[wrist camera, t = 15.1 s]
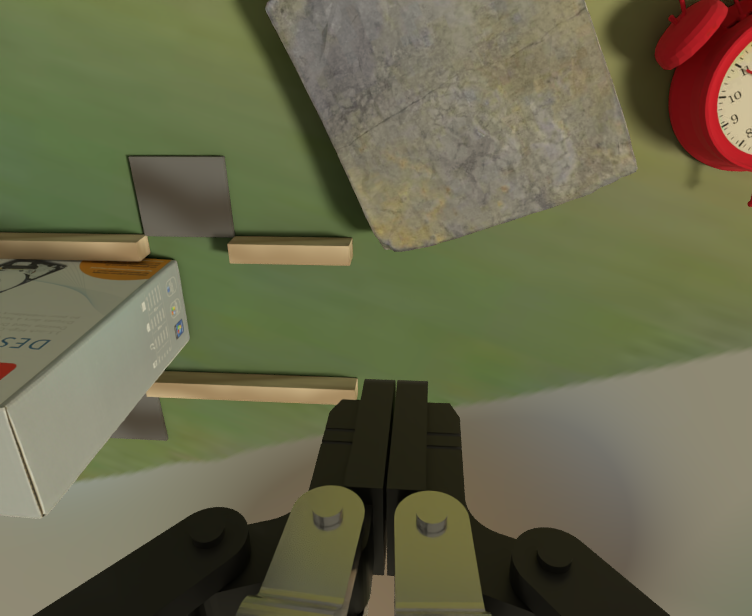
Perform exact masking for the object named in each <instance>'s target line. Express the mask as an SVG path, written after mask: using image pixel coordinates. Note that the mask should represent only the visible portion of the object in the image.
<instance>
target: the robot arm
mask: <svg viewBox="0 0 752 616" xmlns="http://www.w3.org/2000/svg"><path fill="white" fill-rule="evenodd" d="M427 395H428V381H406V380H398V381H397V390H396V384H395V380H376V379H365V381H364V385H363V390H362V396H361V400H349V399H342V400H341V401H340V402H339V403H338V404H337V405H336V406H335V407H334V408H333V409H332V410H331V411H330V413H329V417H328V421H327V424H326V430H325V432H324V435H323V439H322V444H321V447H320V450H319V454H318V458H317V462H316V465H315V469H314V473H313V477H312V480H311V484H310V488H309V491H308V492H306V493H305V494H303V495H302V496H301V497H300V498H299V499H298V500H297V501H296V502H295V504H294V506H293V508H292V510H291V512H290V513H288V514H286V515H284V516H281V517H279V518H276V519H272V520H268V521H263V522H258V523H254V524H249V525H247V522H246V520H245V518H244V517H243V516H242V515H241V514H240V513H239V512H237V511H235V510H233V509H230V508H224V507H213V508H207V509H204V510H201V511H198V512H196V513H194V514H192V515H190V516H188V517H187V518H185V519H184V520H182V521H180V522H179V523H177V524H176V525H174V526H173V527H171V528H170V529H168V530H166V531H165V532H163V533H162V534H160V535H159V536H157V537H155V538H154V539H152V540H151V541H149V542H148V543H146V544H145V545H143V546H141V547H140V548H138V549H137V550H135V551H133V552H132V553H131V554H129V555H127V556H126V557H124V558H122V559H121V560H119V561H118V562H116V563H115V564H113V565H112V566H110V567H108V568H107V569H105V570H104V571H102V572H100V573H99V574H98V575H96V576H94V577H93V578H91V579H89V580H88V581H87V582H85V583H83V584H82V585H80V586H79V587H77V588H75V589H74V590H72V591H71V592H69V593H68V594H66V595H64V596H63V597H61V598H60V599H58V600H57V601H55V602H54V603H52V604H50V605H49V606H47V607H46V608H44V609H42V610H41V611H39V612H38V613H36V614H35V615H33V616H367V613H368V601H369V599H370V594H371V585H372V576H373V575H384V570H385V559H386V548H387V575H389V576H394V577H395V578H394V581H395V584H394V587H395V599H394V600H395V601H394V603H395V605H394V609H395V610H394V611H395V616H670V615H669V614H668V613H666V612H665V611H664V610H663V609H662V608H660V607H659V606H658V605H657V604H656V603H654V602H653V601H652V600H651V599H650V598H648V597H647V596H646V595H645V594H644V593H642V592H641V591H640V590H639V589H638V588H636V587H635V586H634V585H633V584H632V583H630V582H629V581H628V580H627V579H626V578H624V577H623V576H622V575H621V574H620V573H618V572H617V571H616V570H615V569H614V568H612V567H611V566H610V565H609V564H607V563H606V562H605V561H604V560H603V559H602V558H600V557H599V556H598V555H597V554H596V553H594V552H593V551H592V550H591V549H590V548H588V547H587V546H586V545H585V544H583V543H582V542H581V541H580V540H578V539H577V538H576V537H574V536H572V535H570V534H569V533H566V532H564V531H561V530H558V529H554V528H534V529H531V530H528V531H526V532H524V533H522V534H521V535H520V536H519V537H518V538H517V539H514V538H511V537H508V536H505V535H502V534H499V533H497V532H494V531H492V530H490V529H488V528H486V527H485V526H483V525H481V524H480V523H479V522H478V521H477V520H476V519H475V518H474V517H473V516H472V515H471V513H470V512H469V510H468V508H467V505H466V502H465V493H464V477H463V462H462V450H461V448H462V446H461V431H460V418H459V416H458V415H457V413H456V412H455V410H454V409H453V407H452V406H451V405H450V403H427Z"/></svg>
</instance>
